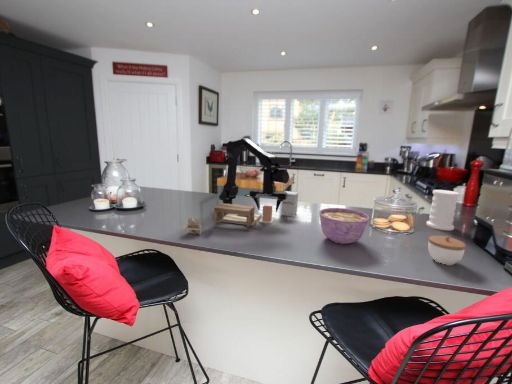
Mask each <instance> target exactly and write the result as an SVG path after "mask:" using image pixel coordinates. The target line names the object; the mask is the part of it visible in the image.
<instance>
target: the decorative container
mask: <svg viewBox="0 0 512 384" xmlns="http://www.w3.org/2000/svg"><path fill="white" fill-rule="evenodd" d="M432 194H433V196H432V198H431V199H432V203H431V205H430V206H431V208H430V210H429V212H430V214H429V216H428V218H429V220H427V221H426V226H428V227H429V228H432V229H435V230H441V231H453V230H454V229H455V226H454V225H453V222H454V221H455V220H454V217H455V215H456V213H455V211H456V208H457V203H458V197H460V192H457V191H453V190H448V189H445V190H444V189H432Z"/></svg>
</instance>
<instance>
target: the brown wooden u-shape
mask: <svg viewBox="0 0 512 384" xmlns="http://www.w3.org/2000/svg"><path fill="white" fill-rule="evenodd" d="M255 207H256V206H252V205H245V204H244V205H243V204H233V203H232V204H226V203H223V202H221V203H220V204H218V205H216V206H214V207H213V210H214V211H213V218H214V221H213V223H215V224H217V223H219V222H221V219H222V218H224V216H225V214H228V213H231V214H240V215H247V216H246V217H247V222H246V227H247V228H249V227H251V226H252V225H251V224H252V223H253V222H254V213H255Z"/></svg>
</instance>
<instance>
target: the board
mask: <svg viewBox="0 0 512 384" xmlns="http://www.w3.org/2000/svg"><path fill="white" fill-rule="evenodd" d="M262 217H263V213H255V212H254V222H253V223H252V224H251V225H250V226H255V224H256V223H257V222H259V221H260V220H261V218H262ZM220 222H222V223H229V224H238V225H246V222H247V215H240V214H231V213H226V214H225V215H224V218H222V219H221V220H220Z"/></svg>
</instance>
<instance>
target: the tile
mask: <svg viewBox="0 0 512 384" xmlns="http://www.w3.org/2000/svg"><path fill="white" fill-rule="evenodd" d="M262 218H263V216H262V217H261V218H260V219H259V220H258V223H261V224H267V225H268V224H269V225H272V224H273V222H274V221H275V220H274V219H276V217H273V216H272V219H271V220H270V221H266V220H262Z"/></svg>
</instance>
